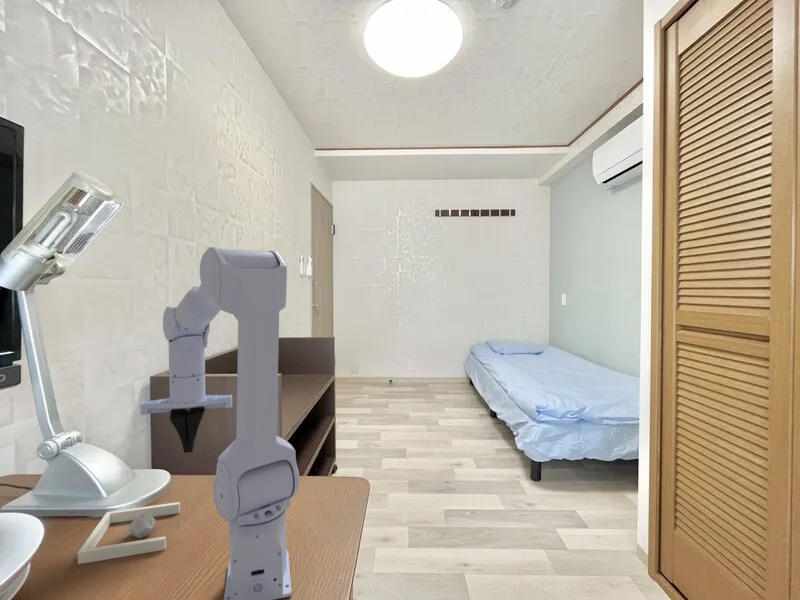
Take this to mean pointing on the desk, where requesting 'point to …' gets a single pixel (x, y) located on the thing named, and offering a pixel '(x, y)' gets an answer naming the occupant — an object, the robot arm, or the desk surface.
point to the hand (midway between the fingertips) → (189, 450)
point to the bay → (129, 548)
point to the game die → (142, 525)
